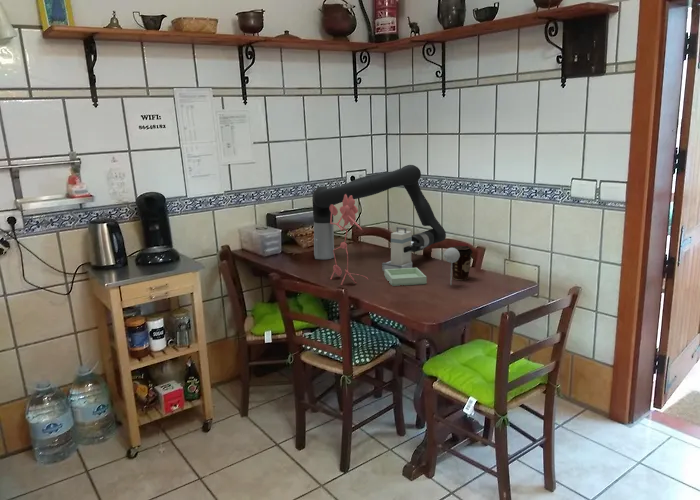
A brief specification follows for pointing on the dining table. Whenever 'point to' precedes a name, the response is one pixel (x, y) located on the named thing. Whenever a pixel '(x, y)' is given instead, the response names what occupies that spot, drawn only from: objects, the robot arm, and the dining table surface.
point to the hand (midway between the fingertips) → (398, 249)
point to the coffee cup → (462, 263)
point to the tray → (405, 276)
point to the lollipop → (451, 257)
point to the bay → (395, 266)
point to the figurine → (348, 216)
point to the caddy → (400, 246)
